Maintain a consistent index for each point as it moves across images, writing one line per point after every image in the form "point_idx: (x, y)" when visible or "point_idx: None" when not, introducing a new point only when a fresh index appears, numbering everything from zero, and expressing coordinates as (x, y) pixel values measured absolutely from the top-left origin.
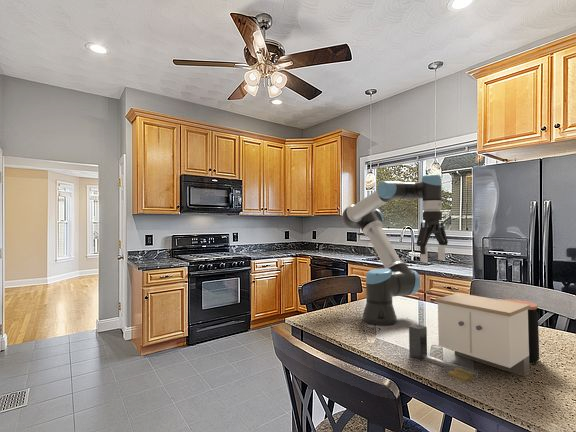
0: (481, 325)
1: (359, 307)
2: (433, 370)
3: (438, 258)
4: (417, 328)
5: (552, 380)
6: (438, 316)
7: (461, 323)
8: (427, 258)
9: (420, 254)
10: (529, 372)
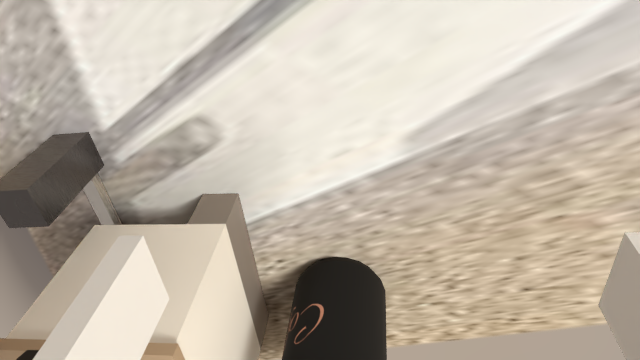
0: None
1: None
2: (65, 213)
3: (635, 254)
4: (4, 219)
5: (272, 341)
6: (38, 297)
7: None
8: (146, 341)
9: (57, 324)
10: (268, 316)
